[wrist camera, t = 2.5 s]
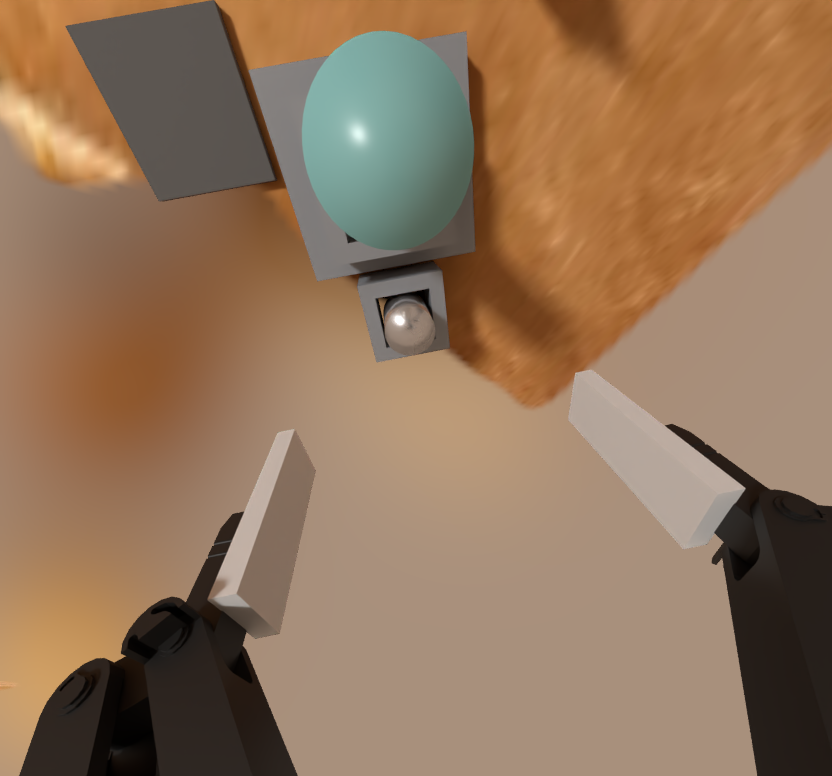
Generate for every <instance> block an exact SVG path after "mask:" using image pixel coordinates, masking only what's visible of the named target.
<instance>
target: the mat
mask: <svg viewBox="0 0 832 776" xmlns="http://www.w3.org/2000/svg"><path fill="white" fill-rule="evenodd" d="M66 28H67V30H68V32H69V34H70V36H71V38H72V40H73V41H74V43H75V45H76V47H77V49H78V51H79V53H80V55H81V56H82V58H83V60H84V62H85V64H86V66H87V68H88V70H89V71H90V73H91V75H92V77H93V79H94V81H95V83H96V85H97V86H98V88H99V90H100V92H101V94H102V96H103V98H104V99H105V101H106V103H107V105H108V107H109V109H110V111H111V113H112V114H113V116H114V118H115V120H116V122H117V124H118V126H119V128H120V129H121V131H122V133H123V135H124V137H125V139H126V141H127V143H128V144H129V146H130V148H131V150H132V152H133V154H134V156H135V158H136V159H137V161H138V163H139V165H140V167H141V169H142V171H143V172H144V174H145V176H146V178H147V180H148V182H149V184H150V186H151V187H152V189H153V191H154V193H155V195H156V197H157V199H158V201H167V200H173V199H179V198H184V197H190V196H195V195H201V194H206V193H211V192H217V191H222V190H228V189H233V188H239V187H244V186H250V185H255V184H261V183H266V182H272V181H277V178H276V175H275V172H274V169H273V166H272V163H271V160H270V157H269V154H268V151H267V149H266V146H265V143H264V140H263V137H262V134H261V131H260V128H259V125H258V122H257V119H256V116H255V113H254V110H253V107H252V104H251V101H250V98H249V95H248V92H247V89H246V86H245V83H244V80H243V77H242V74H241V71H240V68H239V66H238V63H237V60H236V57H235V54H234V51H233V48H232V45H231V42H230V39H229V36H228V33H227V30H226V27H225V24H224V21H223V18H222V15H221V12H220V9H219V6H218V5H217V3H216V2H215V1H214V0H212V1H206V2H200V3H194V4H189V5H183V6H177V7H171V8H166V9H160V10H154V11H148V12H143V13H137V14H131V15H125V16H120V17H114V18H108V19H103V20H97V21H91V22H85V23H80V24H74V25H68V26H66Z"/></svg>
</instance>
